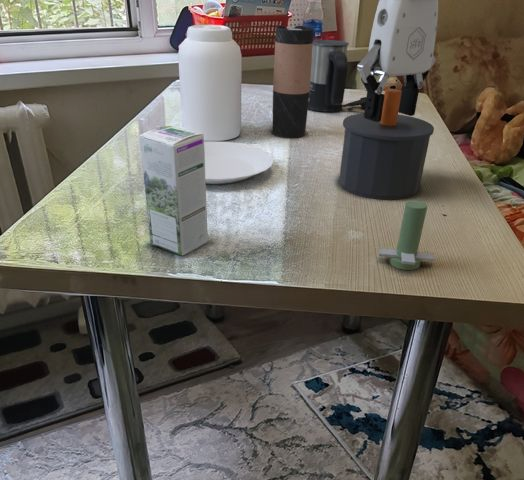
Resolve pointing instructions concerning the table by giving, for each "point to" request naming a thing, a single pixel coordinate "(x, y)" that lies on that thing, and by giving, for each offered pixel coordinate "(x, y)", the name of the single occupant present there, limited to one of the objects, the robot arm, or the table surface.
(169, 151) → the syrup box
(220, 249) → the table surface
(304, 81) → the travel mug
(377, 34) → the robot arm
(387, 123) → the lid
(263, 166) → the plate
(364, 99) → the milk frother
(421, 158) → the bowl
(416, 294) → the table surface
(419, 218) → the green peg on stand
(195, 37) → the white jar
